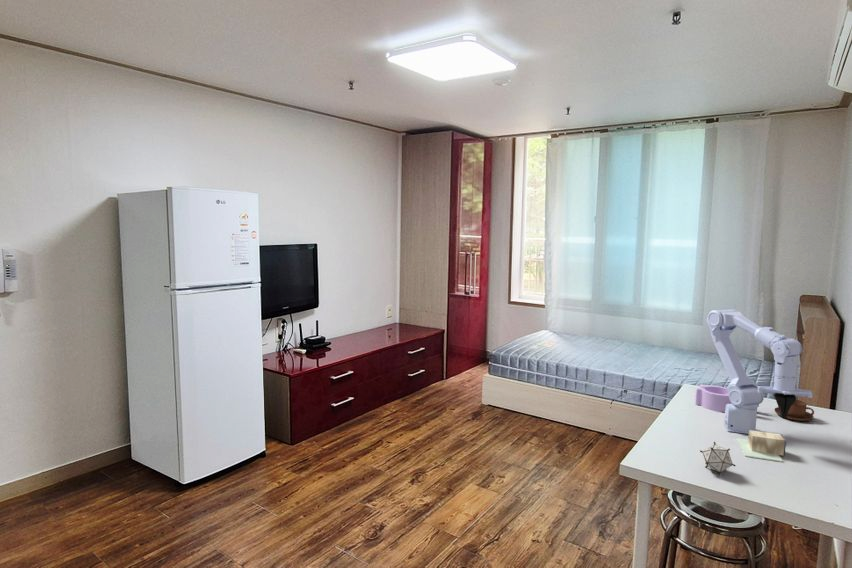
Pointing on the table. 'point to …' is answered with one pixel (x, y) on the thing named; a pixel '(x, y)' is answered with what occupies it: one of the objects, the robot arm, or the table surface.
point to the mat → (760, 455)
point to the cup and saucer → (798, 411)
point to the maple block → (767, 442)
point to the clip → (712, 397)
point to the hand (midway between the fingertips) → (783, 416)
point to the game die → (717, 458)
